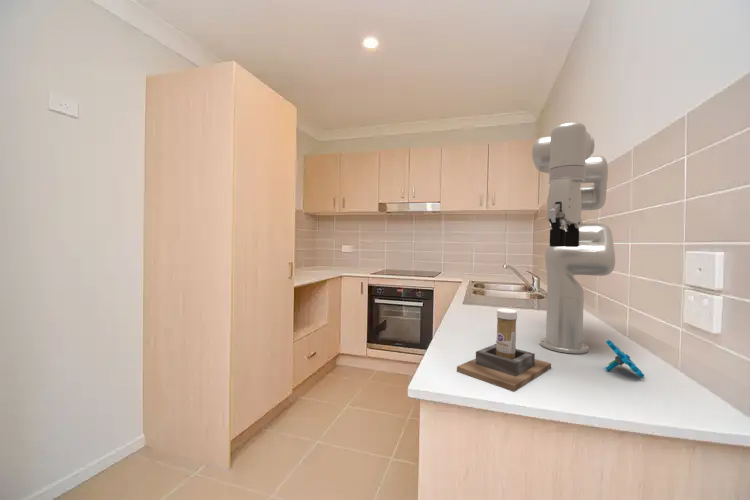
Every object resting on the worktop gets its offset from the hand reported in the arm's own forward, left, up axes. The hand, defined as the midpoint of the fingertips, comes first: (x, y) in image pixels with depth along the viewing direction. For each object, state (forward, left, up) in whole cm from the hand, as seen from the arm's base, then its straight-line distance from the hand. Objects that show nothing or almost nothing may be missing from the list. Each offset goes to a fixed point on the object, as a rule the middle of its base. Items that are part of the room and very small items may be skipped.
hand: (564, 246), depth 80 cm
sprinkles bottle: (+11, -9, -29) cm, 32 cm away
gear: (-10, +11, -31) cm, 34 cm away
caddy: (+11, -9, -30) cm, 33 cm away
